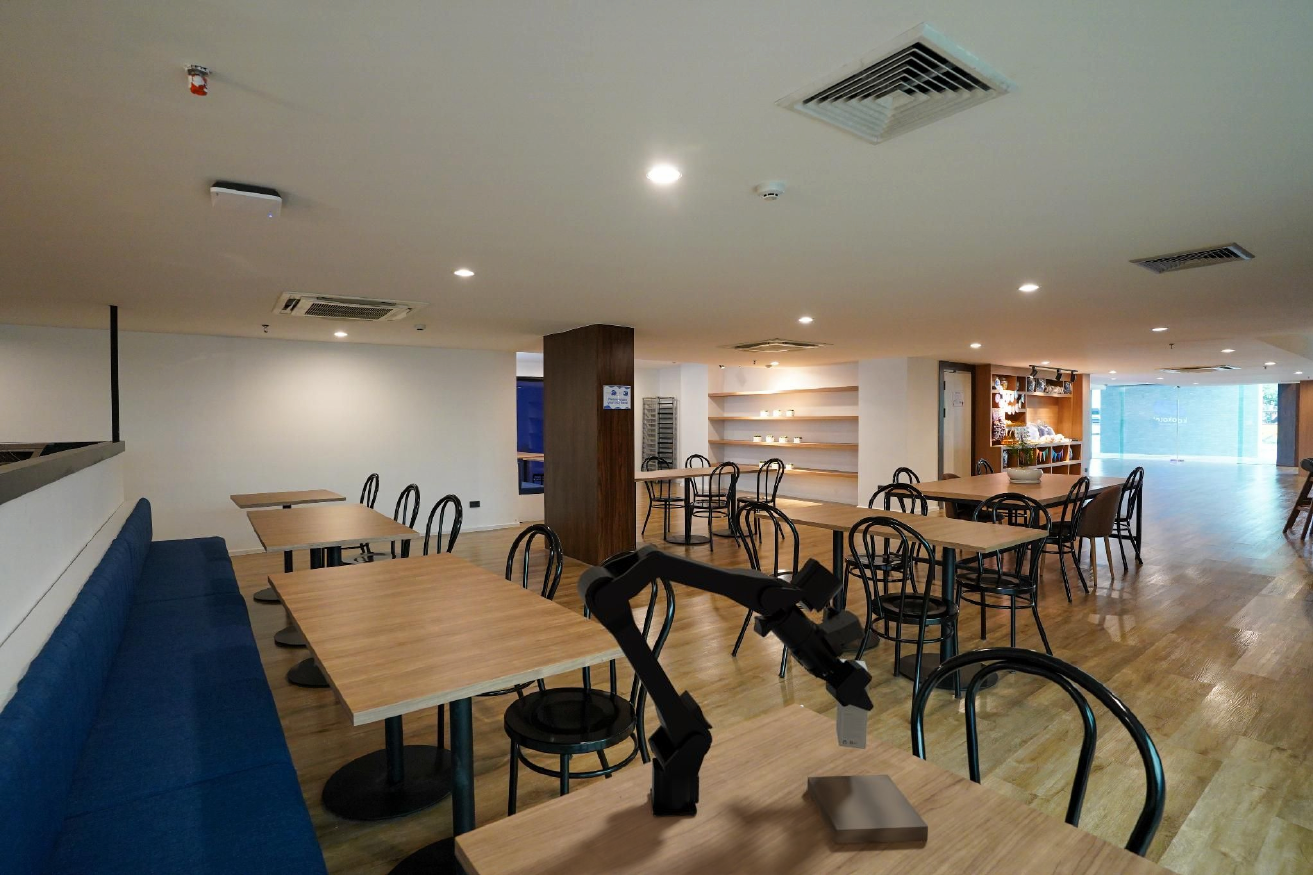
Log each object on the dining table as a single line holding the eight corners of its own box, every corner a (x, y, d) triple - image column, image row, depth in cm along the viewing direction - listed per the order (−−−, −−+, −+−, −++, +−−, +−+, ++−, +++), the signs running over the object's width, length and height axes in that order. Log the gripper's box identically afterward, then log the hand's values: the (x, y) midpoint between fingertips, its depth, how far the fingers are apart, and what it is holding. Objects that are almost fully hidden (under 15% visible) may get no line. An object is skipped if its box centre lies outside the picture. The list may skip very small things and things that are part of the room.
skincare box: (866, 750, 104) (870, 675, 103) (838, 746, 104) (841, 672, 104) (862, 731, 110) (865, 660, 109) (835, 728, 110) (838, 657, 110)
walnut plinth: (836, 843, 91) (837, 829, 91) (807, 789, 104) (807, 776, 104) (927, 840, 92) (928, 826, 92) (887, 786, 105) (887, 774, 105)
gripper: (862, 615, 96) (927, 686, 99) (809, 581, 114) (866, 642, 117) (808, 670, 95) (876, 741, 97) (764, 627, 113) (822, 688, 116)
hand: (860, 698), depth 107 cm, fingers closed on skincare box, 7 cm apart
